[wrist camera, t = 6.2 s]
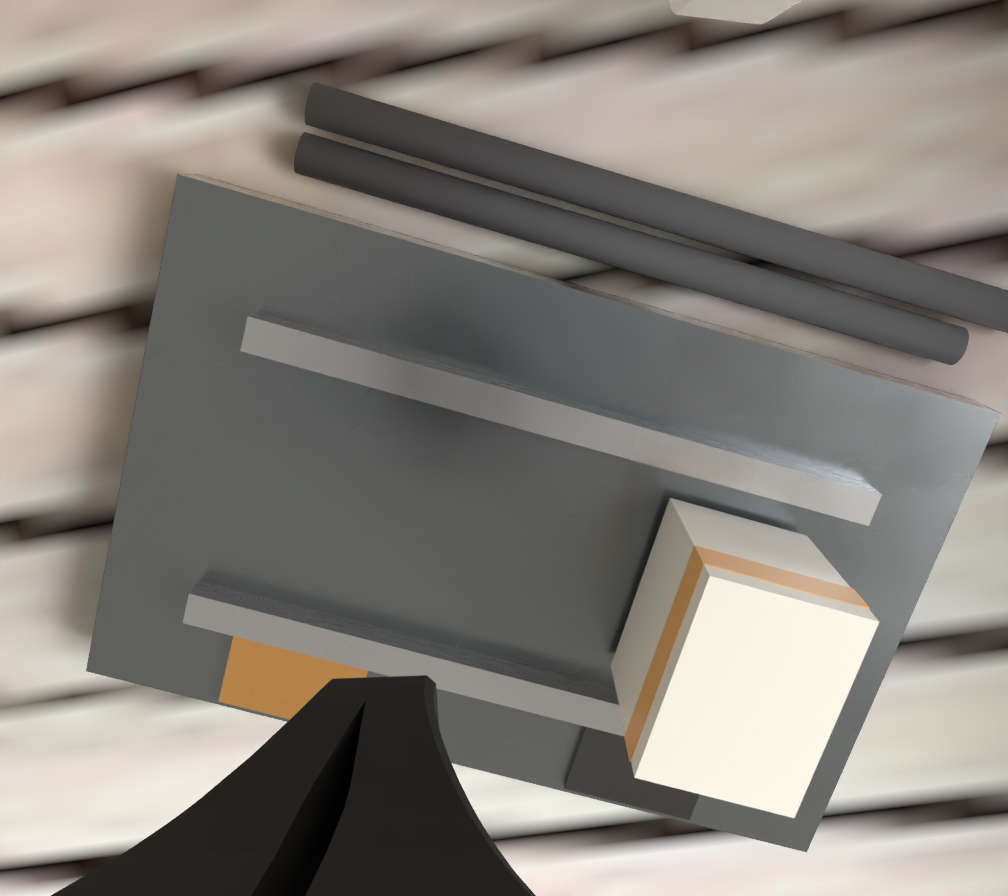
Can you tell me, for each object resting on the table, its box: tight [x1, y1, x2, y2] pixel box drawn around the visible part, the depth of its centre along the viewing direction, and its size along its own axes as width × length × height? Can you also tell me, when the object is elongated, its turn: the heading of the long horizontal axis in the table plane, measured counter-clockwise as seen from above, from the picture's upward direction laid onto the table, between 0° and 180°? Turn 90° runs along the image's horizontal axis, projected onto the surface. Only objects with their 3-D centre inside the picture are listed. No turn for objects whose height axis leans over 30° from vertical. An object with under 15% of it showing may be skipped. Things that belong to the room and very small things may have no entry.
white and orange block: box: [611, 498, 879, 818], centre depth 18 cm, size 3×4×4 cm
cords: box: [294, 83, 1008, 365], centre depth 19 cm, size 15×2×1 cm, turn 74°
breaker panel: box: [86, 174, 1000, 852], centre depth 20 cm, size 17×11×2 cm, turn 74°
